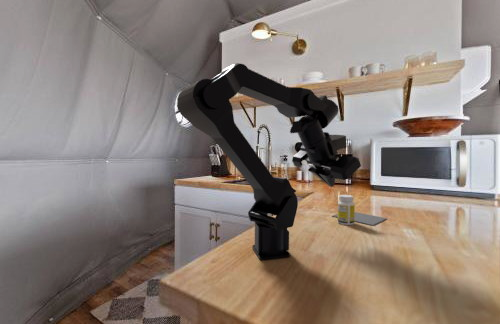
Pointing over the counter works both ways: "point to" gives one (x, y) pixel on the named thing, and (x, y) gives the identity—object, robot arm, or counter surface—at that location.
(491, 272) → the counter surface
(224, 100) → the robot arm
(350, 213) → the supplement bottle
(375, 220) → the mat
